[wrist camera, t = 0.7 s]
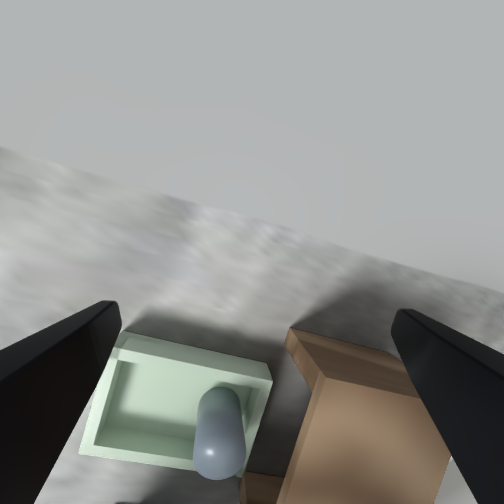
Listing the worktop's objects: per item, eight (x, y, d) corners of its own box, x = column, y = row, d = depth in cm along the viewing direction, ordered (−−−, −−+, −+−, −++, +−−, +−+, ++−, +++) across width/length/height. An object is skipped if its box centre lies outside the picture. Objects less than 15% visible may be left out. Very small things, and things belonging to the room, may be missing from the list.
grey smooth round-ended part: (233, 429, 21) (237, 483, 16) (192, 422, 20) (186, 476, 16) (245, 391, 21) (252, 435, 16) (204, 382, 20) (201, 426, 16)
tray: (239, 448, 22) (242, 477, 19) (95, 425, 20) (78, 453, 17) (266, 363, 22) (273, 381, 19) (122, 330, 20) (108, 346, 17)
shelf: (339, 501, 24) (392, 618, 17) (238, 486, 22) (249, 610, 15) (389, 353, 23) (467, 409, 16) (289, 327, 22) (325, 377, 14)
